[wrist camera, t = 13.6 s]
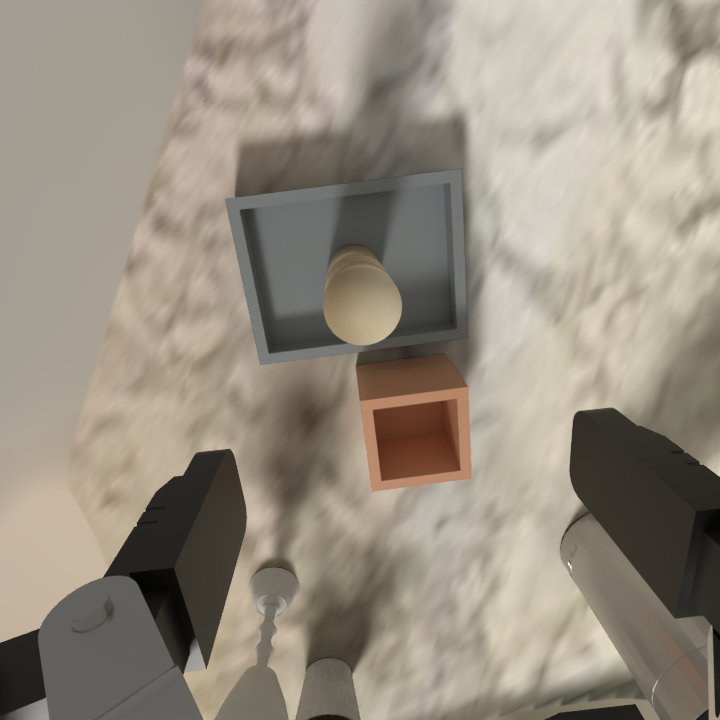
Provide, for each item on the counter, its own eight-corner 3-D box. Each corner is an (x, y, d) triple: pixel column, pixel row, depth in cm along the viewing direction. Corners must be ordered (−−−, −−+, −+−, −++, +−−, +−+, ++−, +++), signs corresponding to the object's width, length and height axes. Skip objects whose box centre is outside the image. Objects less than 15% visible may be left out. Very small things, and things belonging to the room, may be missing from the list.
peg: (377, 240, 33) (398, 263, 22) (382, 293, 35) (405, 340, 23) (323, 247, 33) (318, 273, 22) (331, 300, 35) (329, 349, 23)
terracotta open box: (445, 353, 38) (467, 386, 31) (449, 432, 40) (471, 478, 34) (355, 365, 38) (360, 401, 31) (366, 443, 40) (372, 491, 34)
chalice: (230, 567, 44) (165, 794, 28) (296, 552, 44) (272, 772, 27) (253, 619, 47) (207, 857, 30) (316, 605, 47) (305, 836, 30)
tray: (450, 170, 33) (461, 168, 30) (457, 327, 37) (468, 337, 34) (234, 198, 33) (224, 198, 30) (265, 352, 37) (260, 364, 34)
